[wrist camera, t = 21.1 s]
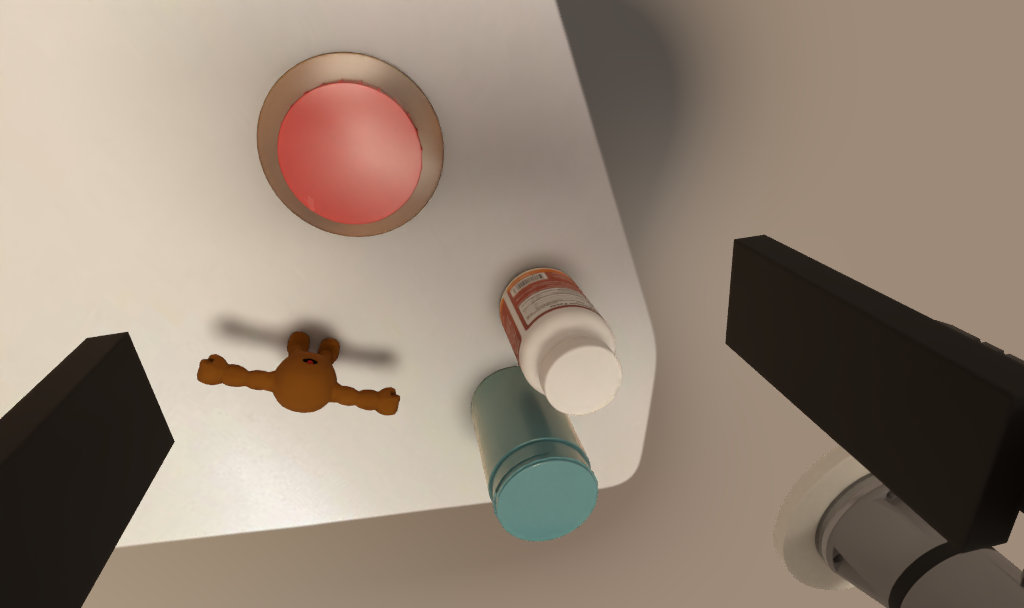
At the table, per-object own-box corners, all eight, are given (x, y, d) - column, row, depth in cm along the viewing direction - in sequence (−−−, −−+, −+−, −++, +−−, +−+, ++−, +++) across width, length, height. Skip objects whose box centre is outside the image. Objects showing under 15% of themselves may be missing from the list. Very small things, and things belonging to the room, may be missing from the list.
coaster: (470, 102, 35) (471, 103, 35) (405, 256, 39) (405, 260, 38) (291, 15, 32) (289, 15, 31) (237, 194, 35) (233, 198, 34)
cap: (324, 48, 32) (319, 49, 30) (446, 131, 35) (449, 136, 33) (258, 170, 34) (250, 178, 32) (379, 238, 37) (378, 249, 35)
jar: (570, 379, 46) (619, 471, 36) (534, 447, 48) (571, 551, 38) (491, 356, 43) (520, 447, 34) (457, 428, 46) (476, 534, 36)
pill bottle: (555, 350, 44) (603, 438, 34) (484, 326, 42) (513, 412, 32) (592, 280, 42) (654, 353, 32) (519, 252, 40) (562, 320, 30)
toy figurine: (404, 340, 41) (406, 391, 35) (391, 382, 43) (391, 438, 37) (227, 302, 38) (196, 351, 32) (218, 349, 39) (187, 406, 33)
